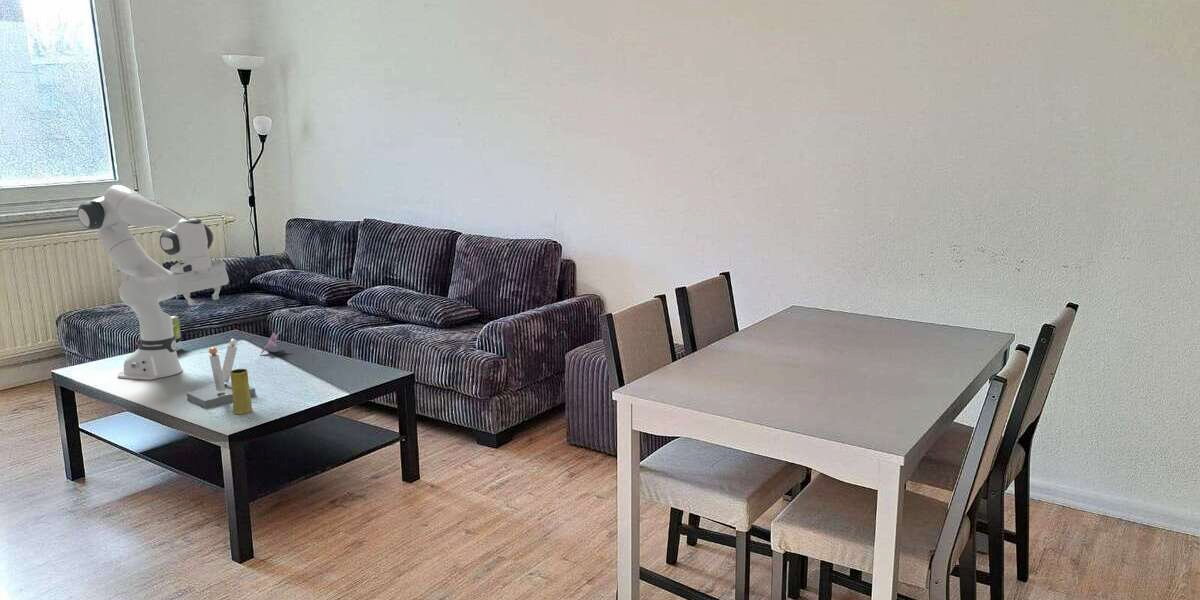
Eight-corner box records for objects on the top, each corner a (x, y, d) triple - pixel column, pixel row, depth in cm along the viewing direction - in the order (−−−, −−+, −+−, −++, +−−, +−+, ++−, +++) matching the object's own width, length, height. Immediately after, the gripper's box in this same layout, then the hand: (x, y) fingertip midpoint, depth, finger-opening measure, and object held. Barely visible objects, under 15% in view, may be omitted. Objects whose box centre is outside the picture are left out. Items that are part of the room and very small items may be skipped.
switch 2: (222, 382, 308) (233, 339, 309) (218, 380, 310) (228, 337, 311) (229, 382, 310) (240, 340, 311) (225, 380, 312) (235, 338, 313)
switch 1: (219, 392, 298) (211, 349, 294) (214, 390, 301) (206, 347, 296) (226, 389, 300) (218, 347, 296) (222, 387, 302) (213, 345, 298)
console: (205, 408, 295) (204, 399, 294) (187, 399, 304) (186, 391, 303) (255, 395, 308) (254, 387, 307) (236, 387, 317) (236, 379, 316)
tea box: (165, 358, 357) (161, 323, 354) (141, 358, 357) (136, 323, 354) (183, 348, 372) (179, 315, 369) (159, 348, 372) (155, 315, 369)
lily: (282, 350, 371) (269, 332, 369) (297, 343, 364) (284, 324, 362) (262, 365, 362) (248, 346, 359) (277, 358, 355) (263, 339, 353)
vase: (236, 408, 293) (232, 368, 290) (255, 408, 294) (251, 368, 291) (230, 414, 287) (226, 373, 284) (249, 414, 288) (245, 373, 285)
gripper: (219, 258, 315) (224, 295, 318) (165, 268, 299) (172, 307, 302) (229, 259, 312) (235, 296, 315) (175, 269, 295) (182, 308, 298)
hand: (203, 302), depth 308 cm, fingers open, 8 cm apart
